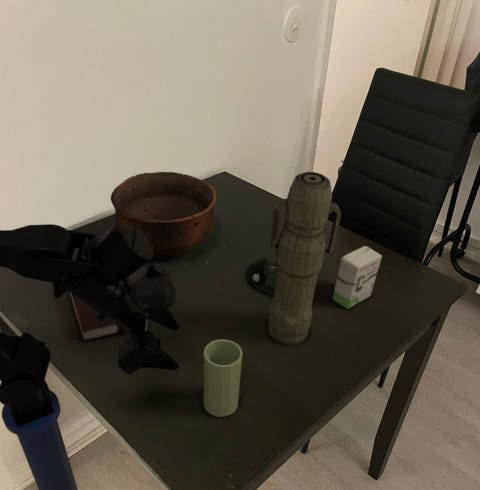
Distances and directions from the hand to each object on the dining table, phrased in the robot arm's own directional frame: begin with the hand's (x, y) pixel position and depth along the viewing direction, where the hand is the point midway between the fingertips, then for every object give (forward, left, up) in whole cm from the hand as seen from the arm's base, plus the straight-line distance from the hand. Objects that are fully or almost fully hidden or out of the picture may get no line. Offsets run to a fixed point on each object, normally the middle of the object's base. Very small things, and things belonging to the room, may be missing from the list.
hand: (177, 347), depth 84 cm
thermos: (+29, +4, -13) cm, 32 cm away
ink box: (+49, +5, -13) cm, 51 cm away
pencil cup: (+6, -5, -13) cm, 15 cm away
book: (-1, +31, -13) cm, 34 cm away
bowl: (+22, +45, -13) cm, 52 cm away
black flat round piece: (+39, +20, -13) cm, 46 cm away
